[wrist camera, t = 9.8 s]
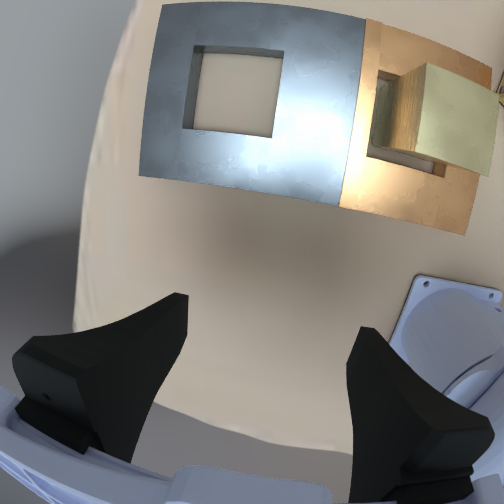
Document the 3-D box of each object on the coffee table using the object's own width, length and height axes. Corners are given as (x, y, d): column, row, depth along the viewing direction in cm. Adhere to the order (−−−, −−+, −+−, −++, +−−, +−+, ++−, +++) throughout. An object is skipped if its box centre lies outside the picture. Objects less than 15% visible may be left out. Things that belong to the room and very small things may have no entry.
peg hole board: (477, 71, 15) (493, 67, 13) (452, 226, 19) (465, 236, 17) (173, 13, 16) (161, 3, 14) (151, 171, 21) (137, 176, 19)
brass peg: (434, 104, 16) (499, 94, 9) (425, 160, 18) (488, 177, 10) (380, 87, 17) (426, 62, 9) (371, 145, 18) (415, 151, 11)
